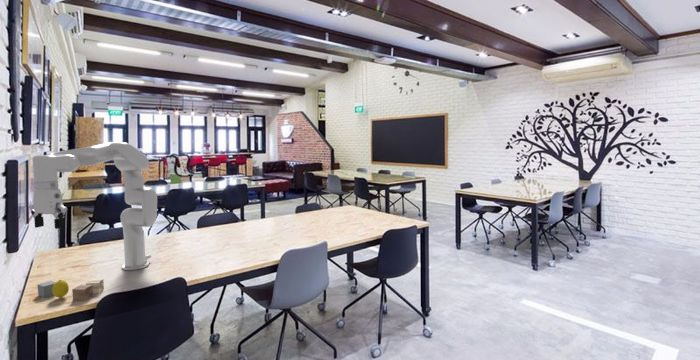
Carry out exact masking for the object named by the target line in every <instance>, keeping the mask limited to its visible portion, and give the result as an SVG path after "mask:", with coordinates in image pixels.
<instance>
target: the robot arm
mask: <svg viewBox="0 0 700 360" xmlns="http://www.w3.org/2000/svg"><path fill="white" fill-rule="evenodd" d="M109 161H113V163H114V165H115V167H116V168H117V169H118V170H119V171H120V172H121V173H122V175H123V177H124V202H125V204H126V205H129V206H140V207H128V208H125V209H123V210H122V212H121V213H120V216H119V217H120V222H121V226H122V233H123V252H124V263H123V264H122V265H121V269H122V270H125V271H135V270H140V269H145V268H147V267H148V266H149V265H150V263H149V261H147V260H149V259H151V258H152V255H151V254H147V255H146V246H145V245H146V244H145V243H146V242H145V232H144V229H143V228H146V227H147V228H149V227H153V226H154V225H155V223H156V222H157V221H156V220H157V218H158V217H157V213H158V194H157V192H156V191H155V189H153V188H150V187H145V186H144V176H143V173H142V172H143V171H145V170H147V169H148V167H149V163H150V161H149V159H148V157H147V156H146V155H145V154H144V153H143V152H142V151H140V150H139V149H138V148H136V147H135V146H133V145H132V144H130V143H128V142H122V141H120V142H119V141H118V142H117V141H116V142H115V141H110V142H104V143H100V144H95V145H92V146H86V147H78V148H72V149H67V150H61V151H55V152H51V153H48V154H43V155H42V154H41V155H34V156H33V157H32V173H33V186H34V187H33V188H34V189H33V198H32V202H33V203H32V204H31V205H29V207H28V208H29V211H30V214H31V215H32V218H33V219H34V227H35V228H41V227H45V223H44V215H52V216H53V217H54V219H53V220H54V229H56V230H57V229H63V228H64V218H65V216H66V214H67V211H68V208H67V206H64V200H63V196H62V191H61V189H60V188H59V177H58V173H71V172H75V171H77V170H78V169H79V167H85V166H86V167H87V166H89V167H90V166H96V165H99V164H103V163H106V162H109Z"/></svg>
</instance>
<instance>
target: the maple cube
mask: <svg viewBox="0 0 700 360" xmlns="http://www.w3.org/2000/svg"><path fill="white" fill-rule="evenodd" d="M85 285H93V295H95V294H101V293H102V291H104V290H105V287H104V286H105V285H104V278H94V279H93V278H92V279H91V278H90V280H88V281H87V282H86V283H85Z"/></svg>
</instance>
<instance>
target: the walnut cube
mask: <svg viewBox="0 0 700 360" xmlns="http://www.w3.org/2000/svg"><path fill="white" fill-rule="evenodd" d="M71 292H72V301H75V302H76V301H80V302H82V301H83V302H85V301H87V300H89V299H91V298H92V297H94V294H93V285H86V284H80V285H78V286H76V287H74V288H72V289H71Z"/></svg>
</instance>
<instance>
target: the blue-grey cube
mask: <svg viewBox="0 0 700 360" xmlns="http://www.w3.org/2000/svg"><path fill="white" fill-rule="evenodd" d="M56 282H57V281H54V280H49V281H44V282H42V283H39V284H37V295H38V297H42V298H44V299H45V298H48V297H52V296H54V295H53V293H52V287H53V285H54V283H56Z"/></svg>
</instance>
